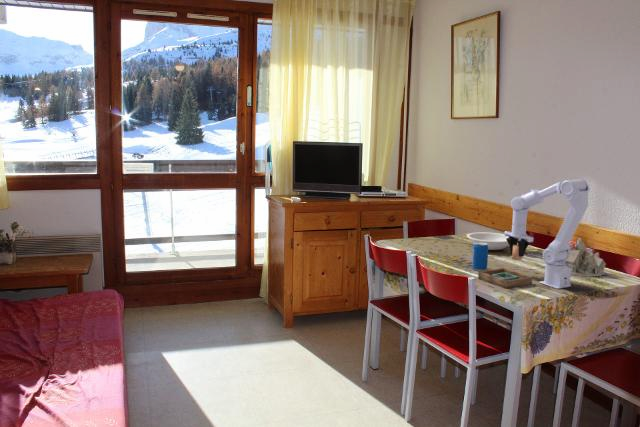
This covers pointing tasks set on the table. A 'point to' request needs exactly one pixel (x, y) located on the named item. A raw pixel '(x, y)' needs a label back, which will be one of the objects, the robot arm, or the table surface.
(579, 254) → the ceramic cottage
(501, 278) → the walled tray
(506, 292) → the table surface
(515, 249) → the terracotta peg
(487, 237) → the soup bowl
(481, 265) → the beverage can
